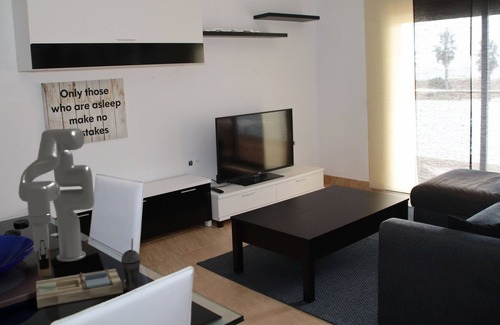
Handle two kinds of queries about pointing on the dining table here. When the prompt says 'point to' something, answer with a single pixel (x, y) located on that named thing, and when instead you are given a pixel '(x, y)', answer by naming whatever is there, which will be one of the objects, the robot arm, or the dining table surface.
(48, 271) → the walnut block
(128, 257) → the beverage cup
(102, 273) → the lid
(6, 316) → the dining table surface
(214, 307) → the dining table surface
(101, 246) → the dining table surface
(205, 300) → the dining table surface
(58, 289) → the puzzle board
